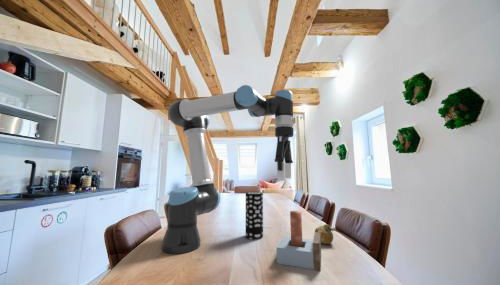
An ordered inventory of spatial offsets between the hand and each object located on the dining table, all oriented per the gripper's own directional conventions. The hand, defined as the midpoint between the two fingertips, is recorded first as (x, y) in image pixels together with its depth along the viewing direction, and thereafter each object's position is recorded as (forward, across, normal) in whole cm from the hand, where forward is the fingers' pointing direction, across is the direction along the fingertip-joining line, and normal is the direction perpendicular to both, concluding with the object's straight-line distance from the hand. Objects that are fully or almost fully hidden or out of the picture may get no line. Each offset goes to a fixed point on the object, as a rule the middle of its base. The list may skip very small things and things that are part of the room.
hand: (284, 179), depth 81 cm
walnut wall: (+27, -5, -12) cm, 30 cm away
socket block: (+27, -5, -5) cm, 28 cm away
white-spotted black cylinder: (+28, +12, +17) cm, 35 cm away
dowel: (+27, -5, -5) cm, 28 cm away
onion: (+28, +15, -14) cm, 34 cm away
